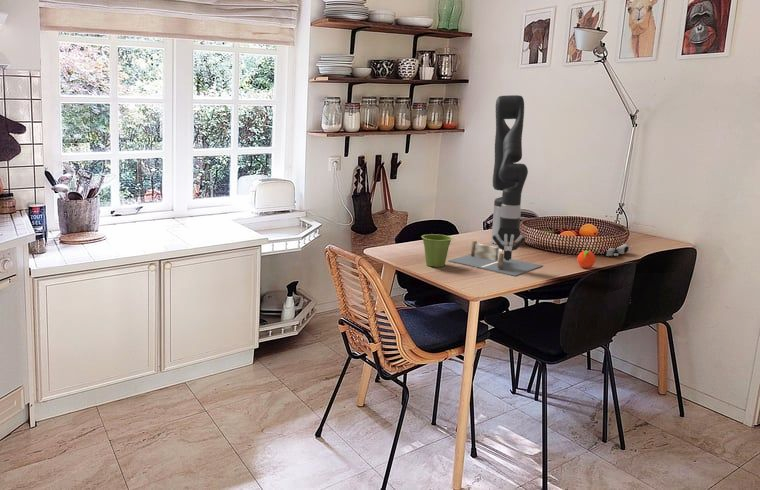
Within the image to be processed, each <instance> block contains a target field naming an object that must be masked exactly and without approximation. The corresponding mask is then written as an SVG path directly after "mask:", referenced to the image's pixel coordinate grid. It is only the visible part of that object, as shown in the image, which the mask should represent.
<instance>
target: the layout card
mask: <svg viewBox="0 0 760 490" xmlns="http://www.w3.org/2000/svg"><path fill="white" fill-rule="evenodd" d="M448 262H449V263H455V264H458V265H462V266H468V267H472V268H476V269H481V270H484V271H490V272H495V273H499V274H503V275H508V276H510V277H511V276H512V277H517V276H520V275H523V274H526V273H528V272H530V271H534V270H536V269H539V268H542V267H543V265H542V264H537V263H533V262H528V261H523V260H520V259H519V260H518V259H515V258H511V259H509V261H507V260H506V259H504V257H503V268H502V269H499V268H498V261H492V260H487V259H483V258H478V257H472V256H471V253H470V254H467V255H462V256H458V257H456V258H451V259H449V260H448Z"/></svg>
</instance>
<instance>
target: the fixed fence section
mask: <svg viewBox="0 0 760 490" xmlns="http://www.w3.org/2000/svg"><path fill="white" fill-rule="evenodd" d="M497 251H498V246H492V245H488V244H482V243H479V242H478V241H477V240H476V241H475V240H471V251H470V252H471V253H470V254H471V256H472V257H478V258H483V259H487V260H492V261H497Z"/></svg>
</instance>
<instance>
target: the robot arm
mask: <svg viewBox="0 0 760 490" xmlns="http://www.w3.org/2000/svg"><path fill="white" fill-rule="evenodd" d="M523 97H524V96H522V95H518V94H517V95H516V94H515V95H514V94H513V95H509V94H508V95H500V96H498V97H497V98H496V101H495V136H494V137H495V138H494V164H493V165H494V166H493V174H492V187H493V189H494V190H496V191H502V193H501V194H502V195H501V196H499V197H497V198H495V199H494V202H493V203H494V204H493V216H492V226H491V227H492V228H491V229H492V230H491V244H493V243H494V244H495V245H497V247H499V248H500V249H503V254H504V259H506V260H507V261H509V259H512V253H513V251H516V250H518V248H519V247H520V246H521V245H522V244H523V243H524V242H525V241H526V237H525V236H523V235H522V233H521V230H520V225H521V224H520V223H521V215H522V214H521V213H522V212H521V211H522V209H521V203H522V192H523V188H524V186H525V183H526V180H527V177H528V174H529V173H528V172H529V171H528V169H529V168H528V167H527V165H526V164H524V163H519V162H520V161H521V160H522V159H523V158H522V157H523V146H522V142H523V141H522V138H523V132H524V131H523V130H524V118H525V101H524V98H523ZM506 120H515V121H514V123H513V125H512V127H511V128H510V126H508V124H507V123H506ZM517 239H518V241H517ZM515 241H517V242H516V243H515V244H514V242H515Z"/></svg>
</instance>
